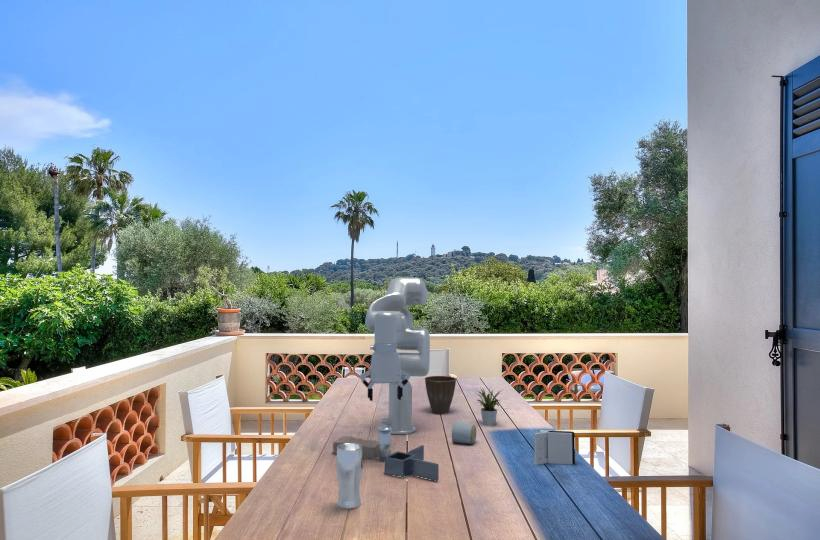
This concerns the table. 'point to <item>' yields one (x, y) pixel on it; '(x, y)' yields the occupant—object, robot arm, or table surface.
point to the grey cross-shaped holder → (411, 464)
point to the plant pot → (440, 392)
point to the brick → (368, 446)
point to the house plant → (488, 408)
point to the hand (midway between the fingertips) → (385, 399)
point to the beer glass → (349, 474)
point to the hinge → (554, 447)
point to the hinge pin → (384, 441)
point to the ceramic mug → (463, 432)
